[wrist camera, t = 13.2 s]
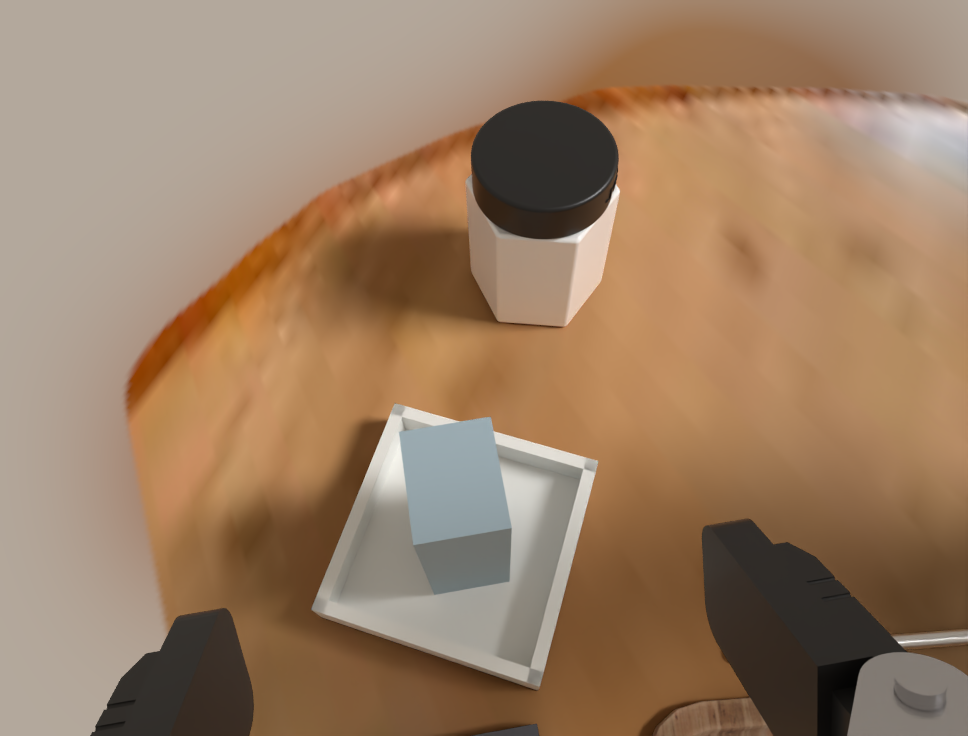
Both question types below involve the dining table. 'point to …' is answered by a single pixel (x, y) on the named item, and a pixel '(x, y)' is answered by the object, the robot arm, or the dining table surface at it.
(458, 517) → the tall gray-blue pillar
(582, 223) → the jar
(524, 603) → the parts tray
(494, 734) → the long charcoal bar
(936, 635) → the chopping board
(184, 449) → the dining table surface
